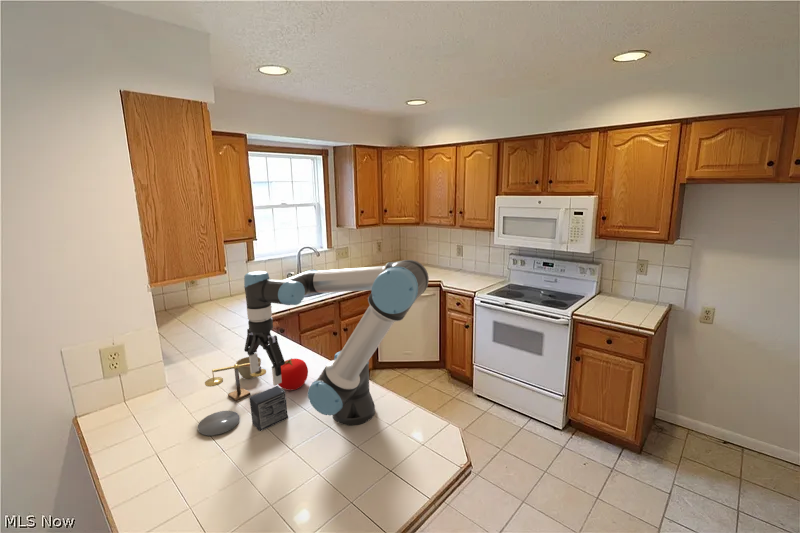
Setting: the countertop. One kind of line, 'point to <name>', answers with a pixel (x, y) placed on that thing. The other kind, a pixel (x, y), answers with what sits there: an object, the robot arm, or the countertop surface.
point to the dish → (218, 423)
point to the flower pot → (246, 368)
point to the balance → (240, 392)
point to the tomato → (293, 374)
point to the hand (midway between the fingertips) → (265, 377)
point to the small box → (268, 408)
